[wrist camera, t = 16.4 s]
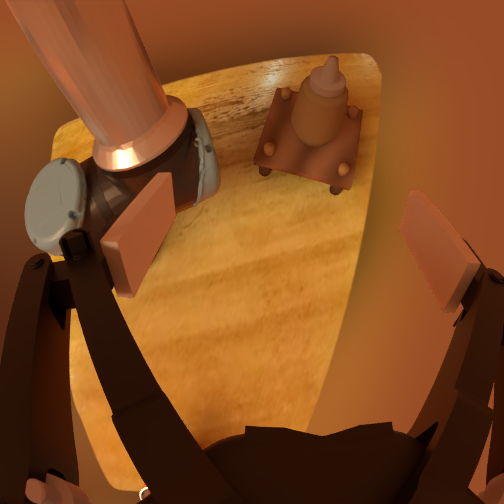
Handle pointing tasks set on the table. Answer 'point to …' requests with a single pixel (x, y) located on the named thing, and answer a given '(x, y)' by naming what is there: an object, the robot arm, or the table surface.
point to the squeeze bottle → (320, 105)
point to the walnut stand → (308, 157)
